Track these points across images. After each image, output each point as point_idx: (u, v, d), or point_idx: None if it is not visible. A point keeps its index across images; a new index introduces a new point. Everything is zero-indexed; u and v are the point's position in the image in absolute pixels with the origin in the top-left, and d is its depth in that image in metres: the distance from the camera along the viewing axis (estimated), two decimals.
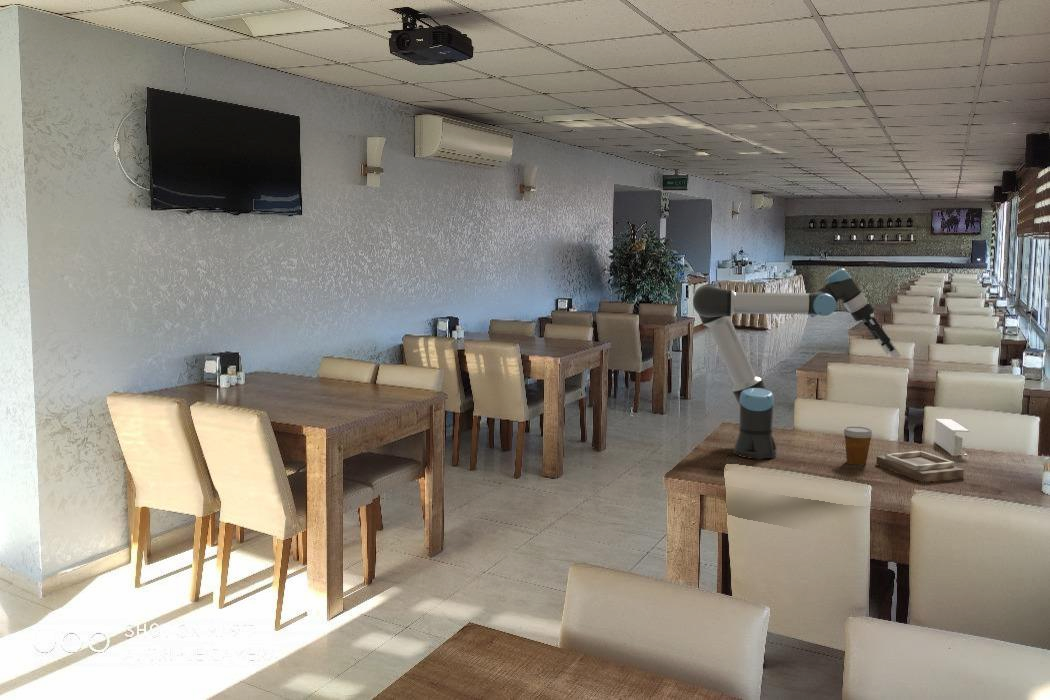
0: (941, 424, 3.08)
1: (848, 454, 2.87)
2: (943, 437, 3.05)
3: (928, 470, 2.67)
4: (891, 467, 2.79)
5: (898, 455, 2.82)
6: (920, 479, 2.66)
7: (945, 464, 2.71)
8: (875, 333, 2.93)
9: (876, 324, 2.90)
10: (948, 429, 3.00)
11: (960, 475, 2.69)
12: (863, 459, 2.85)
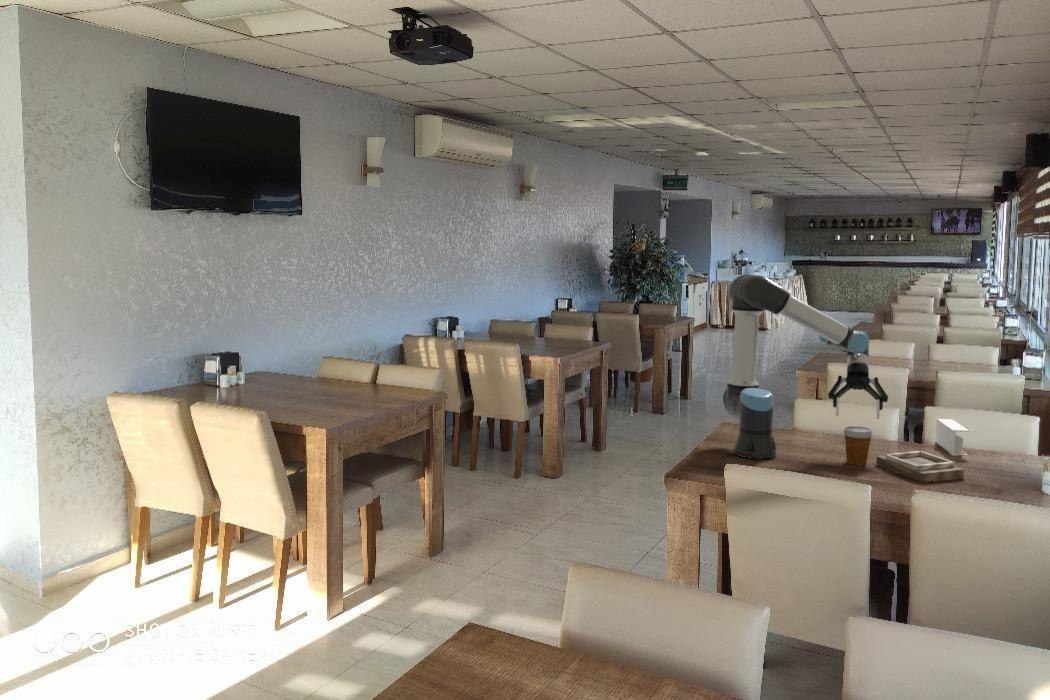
0: (942, 424, 3.08)
1: (848, 454, 2.87)
2: (944, 437, 3.05)
3: (928, 470, 2.67)
4: (891, 467, 2.79)
5: (898, 455, 2.82)
6: (920, 479, 2.66)
7: (945, 464, 2.71)
8: None
9: (837, 381, 3.06)
10: (948, 429, 3.00)
11: (960, 475, 2.69)
12: (863, 459, 2.85)
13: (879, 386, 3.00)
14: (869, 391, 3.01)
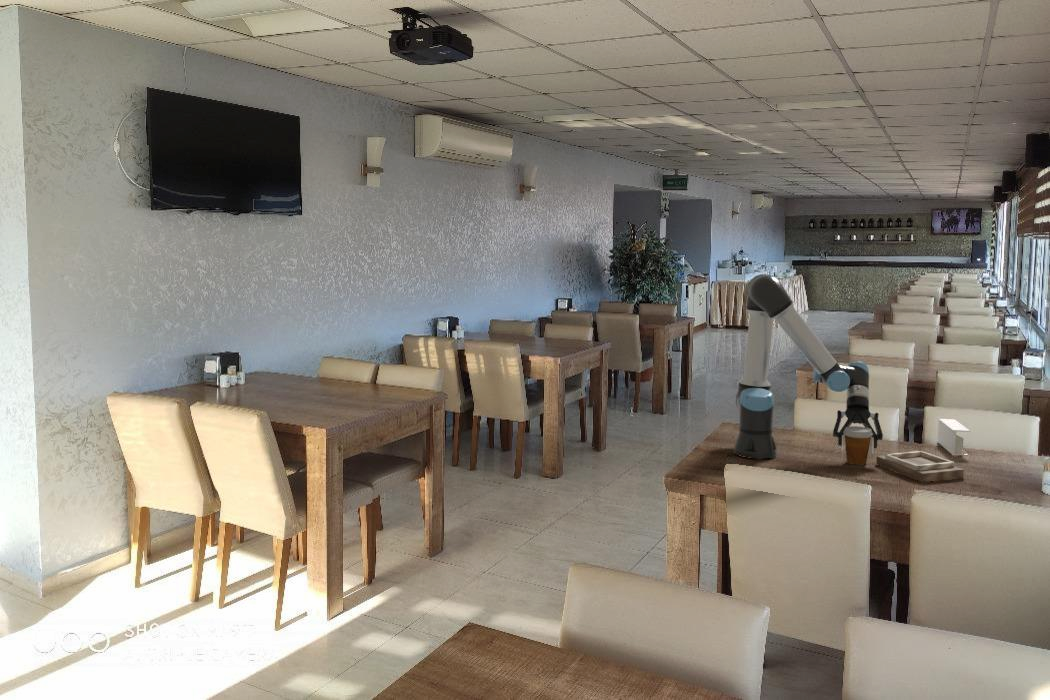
0: (943, 424, 3.08)
1: (848, 454, 2.87)
2: (945, 437, 3.05)
3: (928, 470, 2.67)
4: (891, 467, 2.79)
5: (898, 455, 2.82)
6: (920, 479, 2.66)
7: (945, 464, 2.71)
8: None
9: (837, 417, 2.95)
10: (949, 429, 3.00)
11: (960, 475, 2.69)
12: (863, 459, 2.85)
13: (877, 422, 2.89)
14: (866, 426, 2.90)
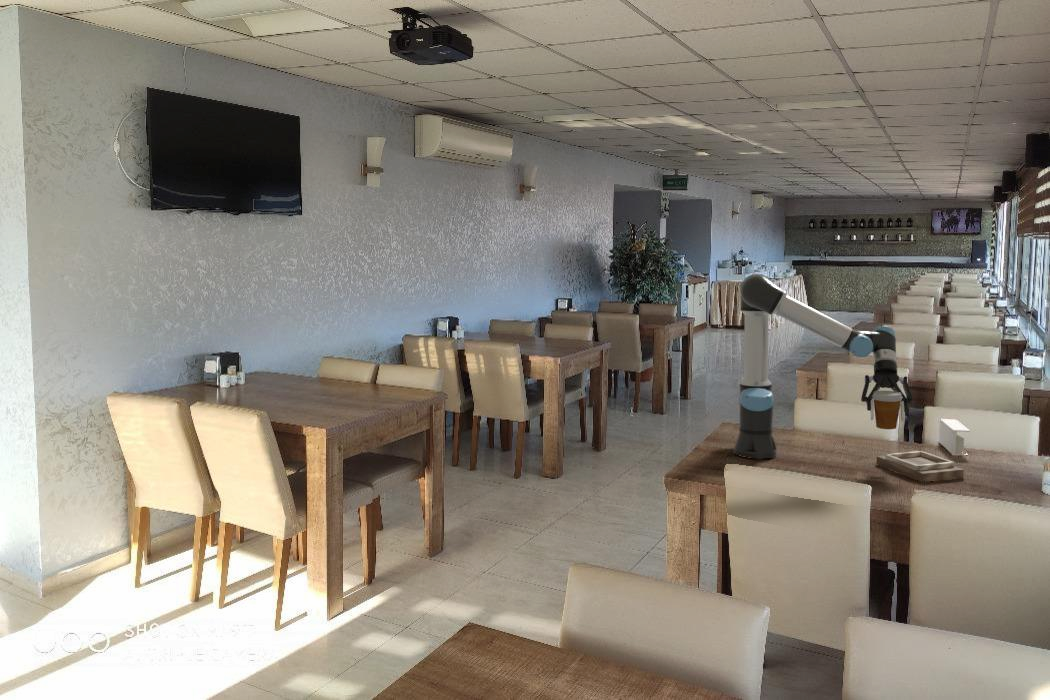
0: (944, 424, 3.08)
1: (878, 419, 2.81)
2: (946, 437, 3.05)
3: (928, 470, 2.67)
4: (891, 467, 2.79)
5: (898, 455, 2.82)
6: (920, 479, 2.66)
7: (945, 464, 2.71)
8: None
9: (865, 381, 2.88)
10: (950, 429, 3.00)
11: (960, 475, 2.69)
12: (893, 423, 2.79)
13: (906, 386, 2.83)
14: (895, 390, 2.84)
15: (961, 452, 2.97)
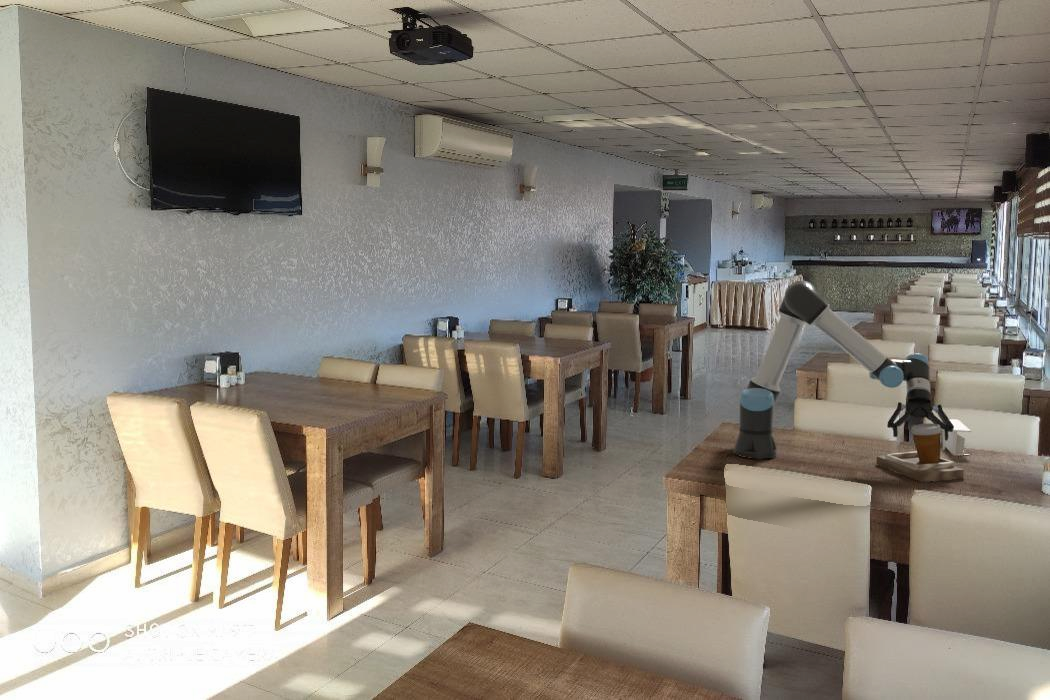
0: None
1: (920, 453, 2.76)
2: None
3: (928, 470, 2.67)
4: (891, 467, 2.79)
5: (898, 455, 2.82)
6: (920, 479, 2.66)
7: (945, 464, 2.71)
8: None
9: None
10: None
11: (960, 475, 2.69)
12: (936, 456, 2.74)
13: (943, 414, 2.78)
14: (932, 420, 2.79)
15: (962, 452, 2.97)
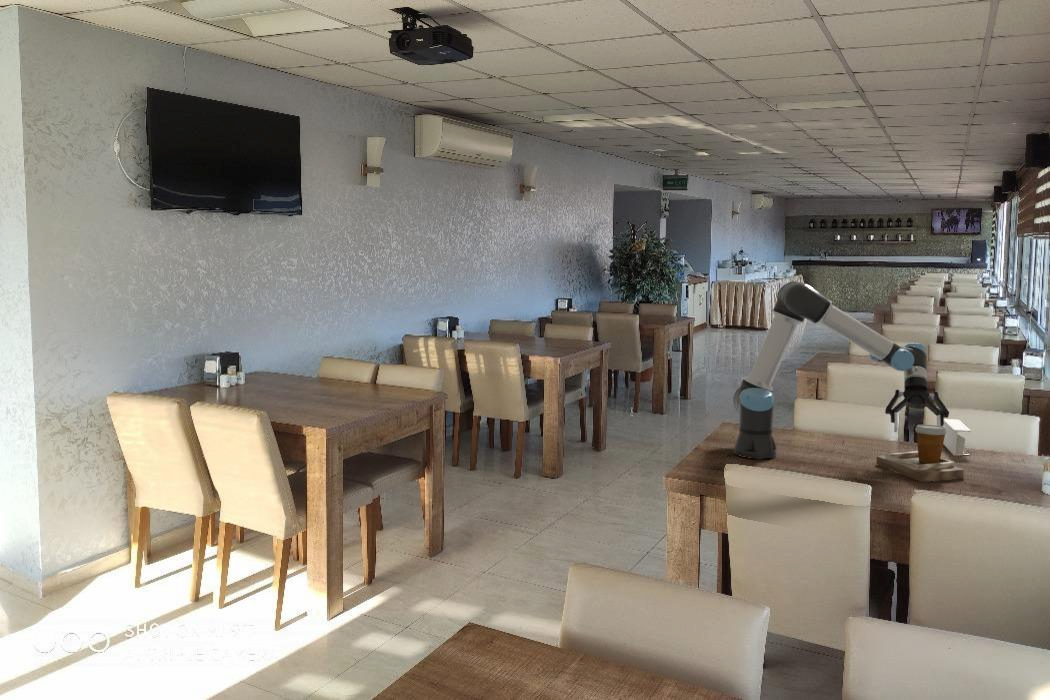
0: (946, 424, 3.07)
1: (921, 452, 2.76)
2: (947, 437, 3.05)
3: (928, 470, 2.67)
4: (891, 467, 2.79)
5: (898, 455, 2.82)
6: (920, 479, 2.66)
7: (945, 464, 2.71)
8: None
9: (894, 395, 2.94)
10: (951, 429, 3.00)
11: (960, 475, 2.69)
12: (937, 457, 2.74)
13: (939, 401, 2.88)
14: (929, 406, 2.89)
15: (962, 452, 2.97)
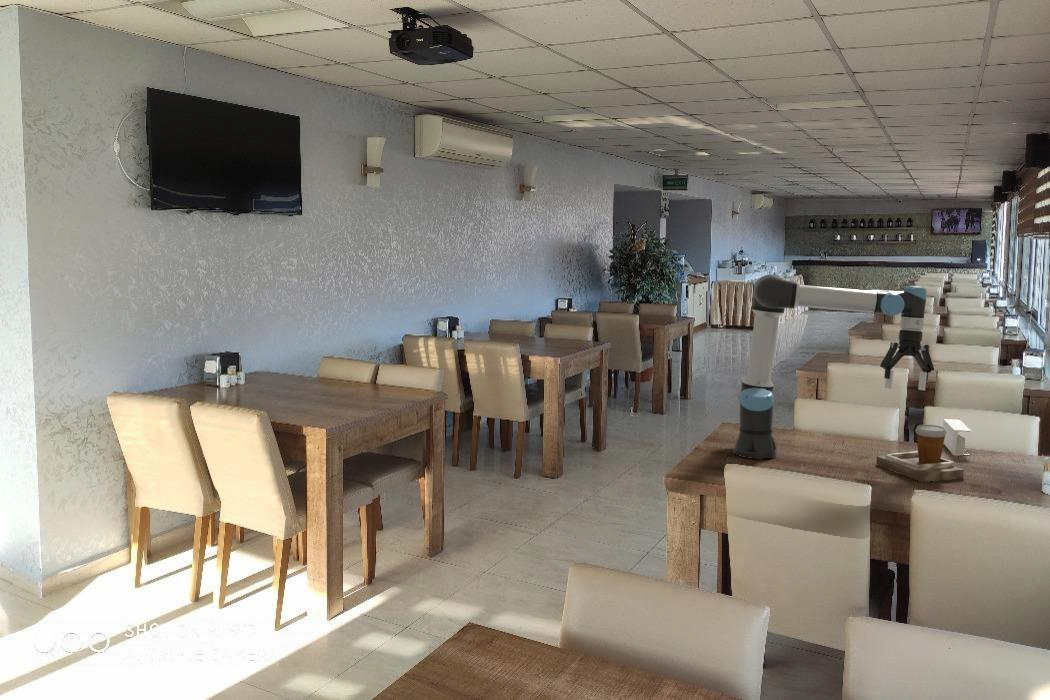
0: (947, 424, 3.07)
1: (921, 454, 2.76)
2: (948, 437, 3.05)
3: (928, 470, 2.67)
4: (891, 467, 2.79)
5: (898, 455, 2.82)
6: (920, 479, 2.66)
7: (945, 464, 2.71)
8: (893, 357, 2.94)
9: (892, 349, 2.92)
10: (951, 429, 3.00)
11: (960, 475, 2.69)
12: (937, 459, 2.74)
13: (928, 356, 2.94)
14: (918, 360, 2.95)
15: (962, 452, 2.97)
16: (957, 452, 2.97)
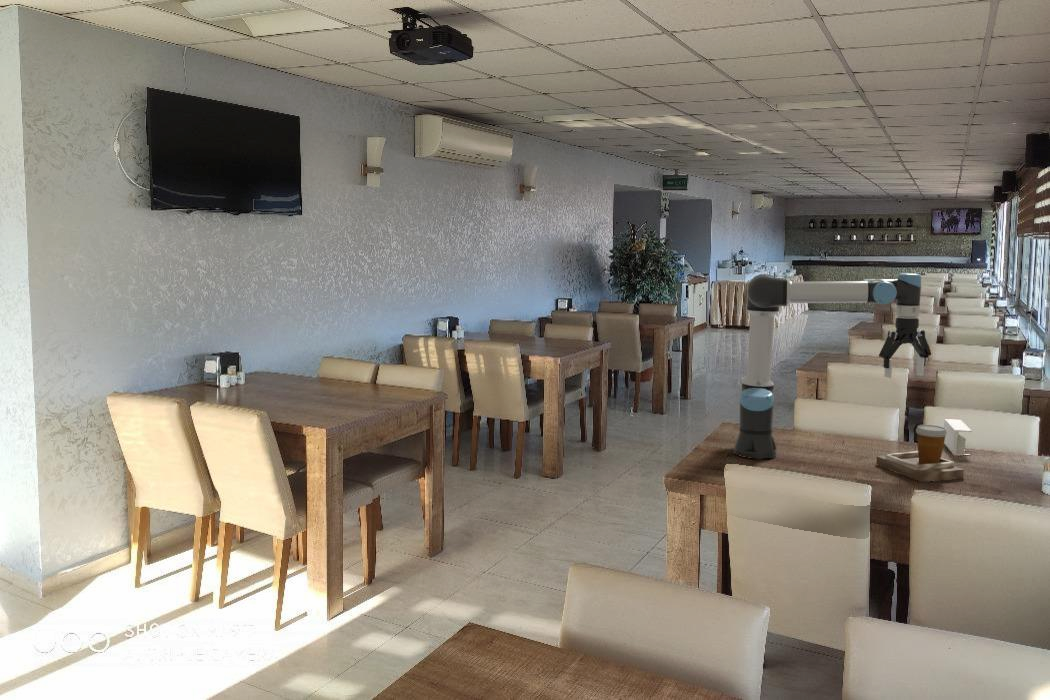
0: (948, 424, 3.07)
1: (921, 453, 2.76)
2: (948, 437, 3.05)
3: (928, 470, 2.67)
4: (891, 467, 2.79)
5: (898, 455, 2.82)
6: (920, 479, 2.66)
7: (945, 464, 2.71)
8: (891, 345, 2.93)
9: (890, 338, 2.91)
10: (952, 429, 3.00)
11: (960, 475, 2.69)
12: (937, 459, 2.74)
13: (925, 341, 2.94)
14: (915, 346, 2.95)
15: (963, 452, 2.97)
16: (957, 452, 2.97)
